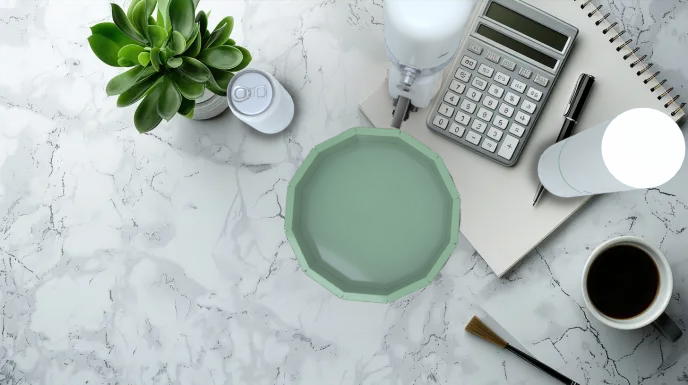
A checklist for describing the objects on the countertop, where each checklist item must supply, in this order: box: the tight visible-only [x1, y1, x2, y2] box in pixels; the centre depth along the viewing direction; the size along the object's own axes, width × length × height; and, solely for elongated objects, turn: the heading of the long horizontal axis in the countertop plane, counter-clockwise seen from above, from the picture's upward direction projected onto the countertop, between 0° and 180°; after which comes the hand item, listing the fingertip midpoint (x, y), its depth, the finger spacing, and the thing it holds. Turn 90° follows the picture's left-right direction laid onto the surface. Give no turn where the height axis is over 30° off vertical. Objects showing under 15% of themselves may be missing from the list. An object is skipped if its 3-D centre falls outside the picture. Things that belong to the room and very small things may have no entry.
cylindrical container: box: [537, 107, 686, 198], centre depth 67 cm, size 7×7×25 cm
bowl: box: [283, 126, 462, 305], centre depth 54 cm, size 15×15×5 cm
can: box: [226, 67, 295, 135], centre depth 77 cm, size 6×6×12 cm
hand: (416, 76), depth 79 cm, fingers closed on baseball, 7 cm apart
